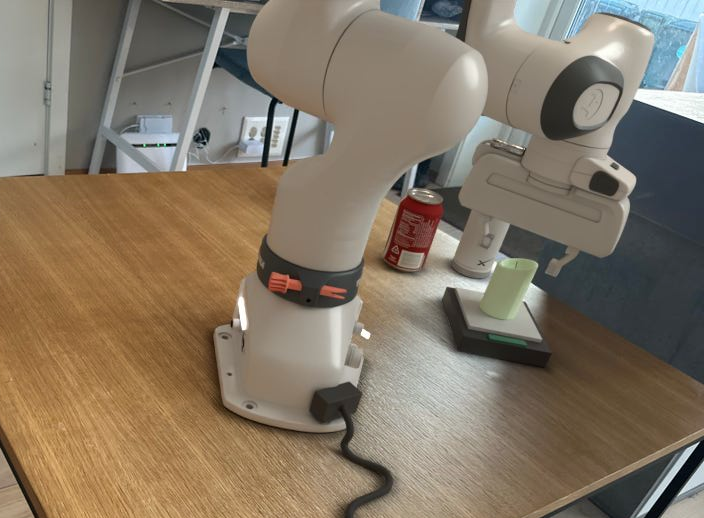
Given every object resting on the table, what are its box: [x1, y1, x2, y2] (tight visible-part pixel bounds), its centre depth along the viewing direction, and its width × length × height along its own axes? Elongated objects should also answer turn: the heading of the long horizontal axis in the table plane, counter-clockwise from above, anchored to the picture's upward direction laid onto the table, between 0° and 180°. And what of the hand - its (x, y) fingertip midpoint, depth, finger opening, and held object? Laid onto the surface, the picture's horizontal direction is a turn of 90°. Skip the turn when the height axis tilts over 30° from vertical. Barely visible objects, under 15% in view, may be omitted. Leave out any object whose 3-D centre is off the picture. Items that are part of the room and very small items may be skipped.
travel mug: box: [451, 209, 511, 279], centre depth 111 cm, size 6×7×20 cm
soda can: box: [382, 187, 444, 273], centre depth 111 cm, size 7×7×12 cm
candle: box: [480, 257, 539, 320], centre depth 97 cm, size 5×5×8 cm
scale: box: [441, 286, 553, 368], centre depth 100 cm, size 14×12×3 cm
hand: (516, 260), depth 94 cm, fingers open, 8 cm apart
